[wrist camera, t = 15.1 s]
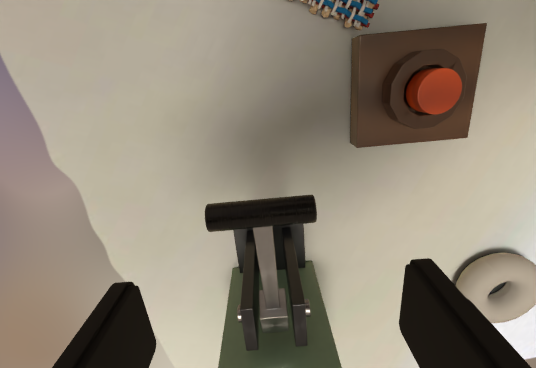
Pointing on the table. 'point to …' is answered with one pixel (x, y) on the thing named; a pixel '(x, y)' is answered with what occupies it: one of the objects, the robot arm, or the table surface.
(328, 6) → the woven mat
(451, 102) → the button
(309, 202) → the lever
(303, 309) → the bracket
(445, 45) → the control block
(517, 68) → the table surface
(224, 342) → the toaster
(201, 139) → the table surface
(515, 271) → the donut
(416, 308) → the robot arm
